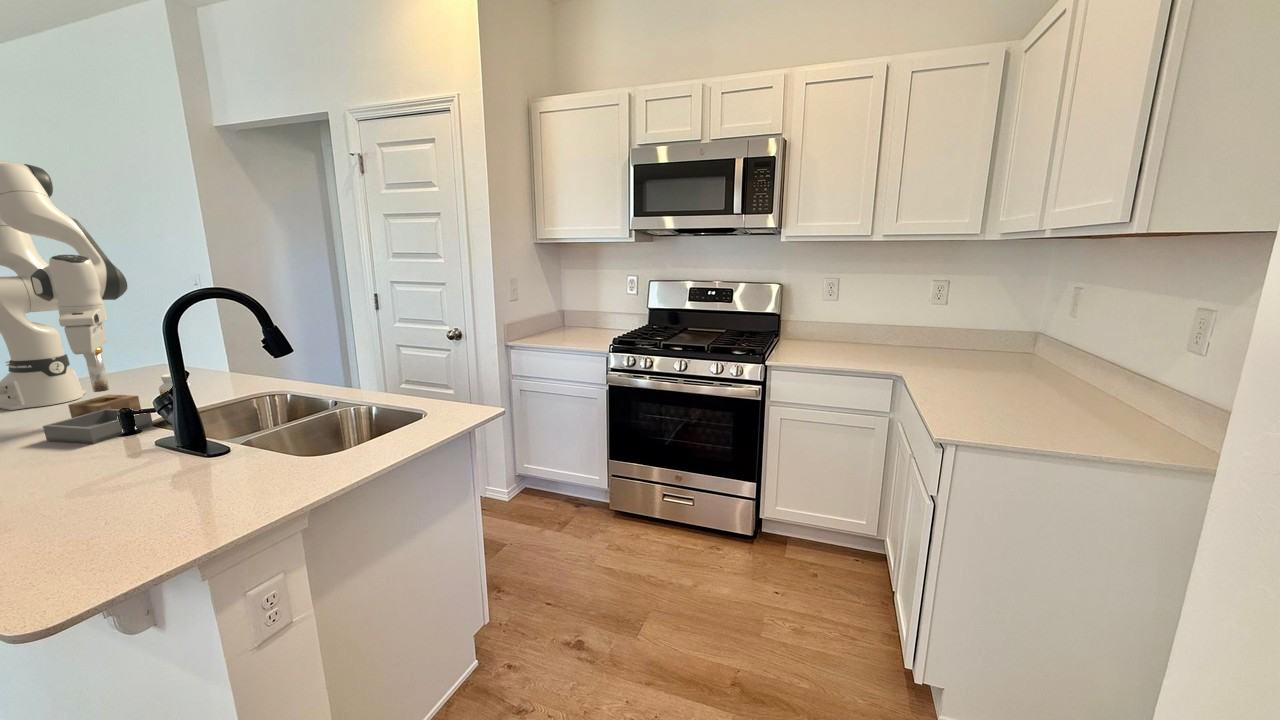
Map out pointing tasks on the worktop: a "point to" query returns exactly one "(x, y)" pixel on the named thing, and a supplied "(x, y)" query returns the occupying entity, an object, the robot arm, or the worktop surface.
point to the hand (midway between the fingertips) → (95, 364)
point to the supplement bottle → (167, 384)
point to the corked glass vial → (98, 373)
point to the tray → (92, 427)
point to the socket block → (104, 404)
